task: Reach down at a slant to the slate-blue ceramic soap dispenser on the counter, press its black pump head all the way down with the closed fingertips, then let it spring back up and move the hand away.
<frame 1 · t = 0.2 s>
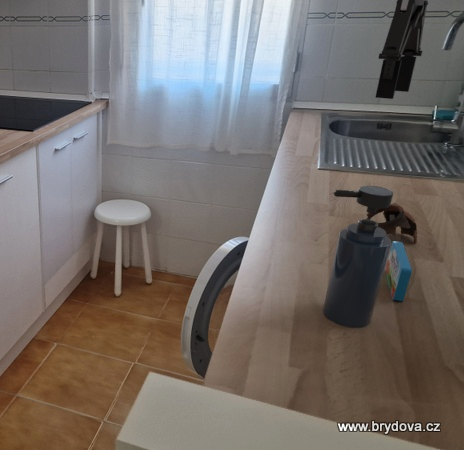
hand: (392, 94, 101), 30 cm above the countertop, tool pointing down, fingers open, 13 cm apart
pump head: (367, 201, 80), point 20 cm above the countertop, slide at 0.1 cm
brown arched figure: (388, 237, 116), on the countertop
dispenser: (346, 315, 87), on the countertop
flat blue box: (393, 286, 96), on the countertop
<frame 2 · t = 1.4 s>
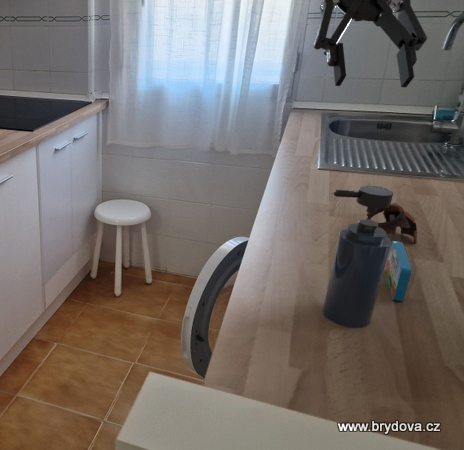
hand: (373, 81, 87), 35 cm above the countertop, tool tilted 45°, fingers open, 9 cm apart
nothing on the countertop moved.
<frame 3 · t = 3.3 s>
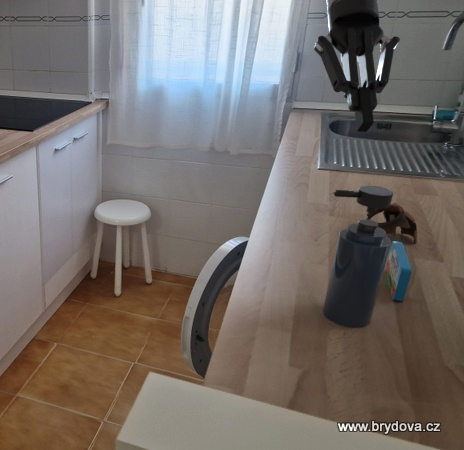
hand: (365, 127, 84), 29 cm above the countertop, tool tilted 45°, fingers closed
nothing on the countertop moved.
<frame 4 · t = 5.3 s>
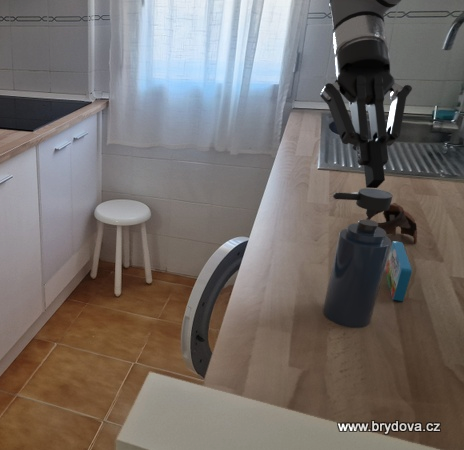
hand: (375, 183, 79), 22 cm above the countertop, tool tilted 45°, fingers closed
pump head: (366, 203, 80), point 19 cm above the countertop, slide at -0.3 cm, touching gripper
everything else where it was.
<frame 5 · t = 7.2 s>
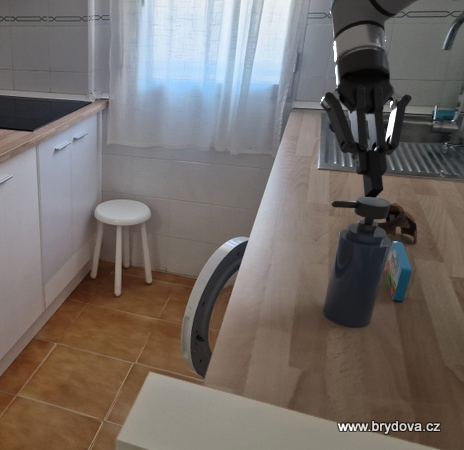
hand: (373, 193, 79), 21 cm above the countertop, tool tilted 45°, fingers closed
pump head: (364, 211, 80), point 18 cm above the countertop, slide at -1.6 cm, touching dispenser, gripper
everything else where it was.
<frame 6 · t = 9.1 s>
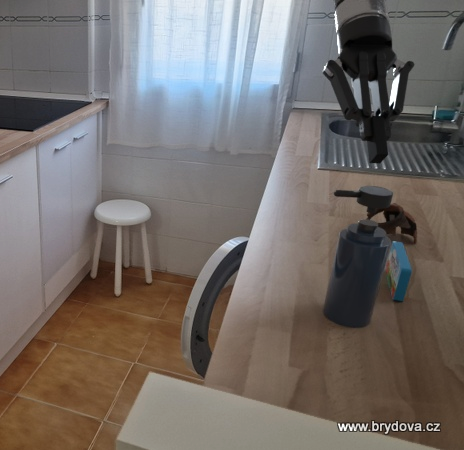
hand: (378, 158, 79), 26 cm above the countertop, tool tilted 45°, fingers closed
pump head: (367, 201, 80), point 20 cm above the countertop, slide at 0.1 cm
everything else where it was.
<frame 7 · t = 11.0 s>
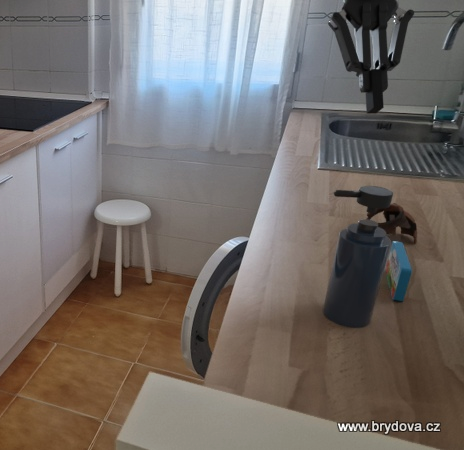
hand: (374, 110, 88), 30 cm above the countertop, tool tilted 30°, fingers closed
nothing on the countertop moved.
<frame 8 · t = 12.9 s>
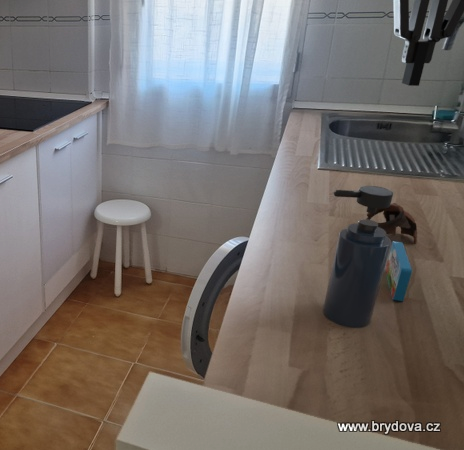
hand: (410, 84, 87), 34 cm above the countertop, tool pointing down, fingers closed
nothing on the countertop moved.
at the end: pump head pushed in 1.6 cm at the most during the clip, back to where it started at the end; pump head slide at 0.1 cm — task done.
